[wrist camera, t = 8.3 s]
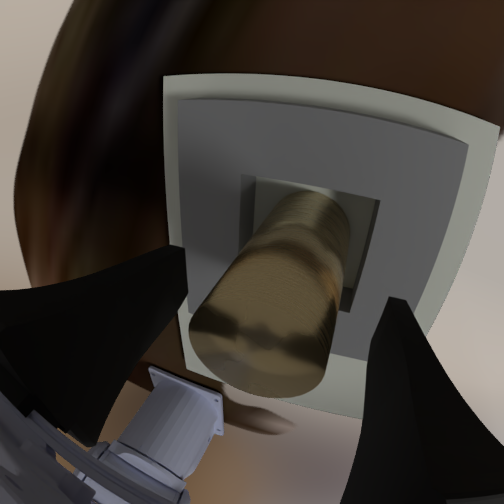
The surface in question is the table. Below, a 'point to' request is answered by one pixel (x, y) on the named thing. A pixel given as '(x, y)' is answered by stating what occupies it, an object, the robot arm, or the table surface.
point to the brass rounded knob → (278, 301)
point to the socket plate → (332, 185)
